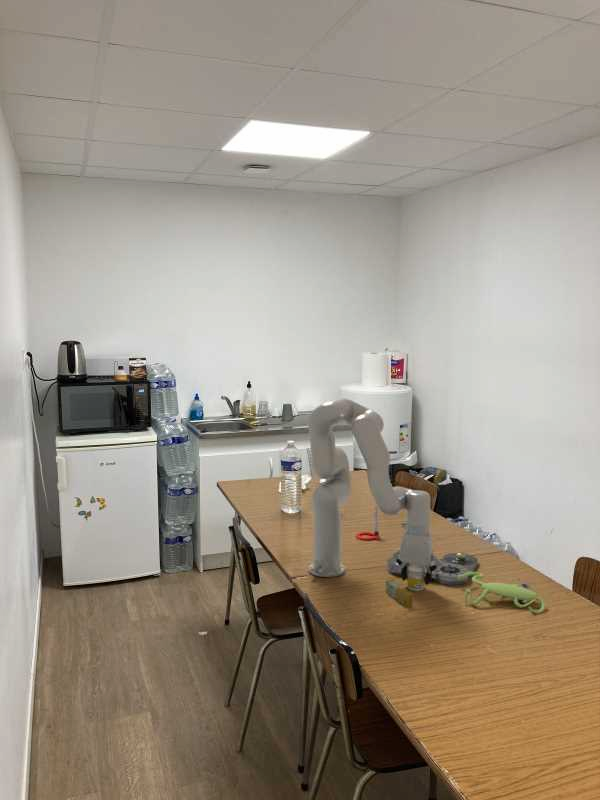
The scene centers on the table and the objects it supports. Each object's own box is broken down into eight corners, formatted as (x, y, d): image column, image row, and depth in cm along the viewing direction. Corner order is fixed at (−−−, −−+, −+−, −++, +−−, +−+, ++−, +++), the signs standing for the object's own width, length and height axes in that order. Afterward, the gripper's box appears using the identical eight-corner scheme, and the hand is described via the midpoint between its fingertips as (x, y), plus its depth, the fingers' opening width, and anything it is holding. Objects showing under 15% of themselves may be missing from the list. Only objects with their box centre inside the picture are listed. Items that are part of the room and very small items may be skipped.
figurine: (457, 583, 223) (457, 567, 223) (541, 592, 216) (542, 576, 215) (455, 606, 206) (455, 589, 205) (546, 616, 198) (547, 599, 198)
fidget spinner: (480, 560, 243) (481, 551, 243) (463, 587, 218) (463, 577, 218) (448, 554, 249) (448, 545, 248) (427, 581, 224) (427, 571, 223)
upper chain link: (463, 587, 218) (464, 573, 218) (382, 572, 231) (382, 559, 230) (471, 575, 229) (471, 561, 228) (393, 561, 241) (393, 548, 241)
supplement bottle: (412, 583, 222) (413, 555, 221) (427, 587, 219) (428, 558, 217) (404, 588, 218) (405, 559, 217) (419, 592, 215) (419, 563, 213)
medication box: (385, 592, 215) (385, 580, 215) (392, 590, 216) (392, 579, 216) (405, 607, 204) (405, 595, 204) (412, 606, 205) (412, 593, 205)
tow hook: (356, 541, 264) (379, 541, 264) (355, 510, 263) (378, 509, 262) (355, 534, 272) (378, 534, 272) (354, 504, 271) (377, 503, 270)
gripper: (388, 528, 216) (387, 580, 219) (441, 536, 209) (439, 590, 211) (395, 522, 223) (394, 572, 225) (447, 529, 215) (445, 582, 218)
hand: (416, 581), depth 218 cm, fingers open, 7 cm apart
